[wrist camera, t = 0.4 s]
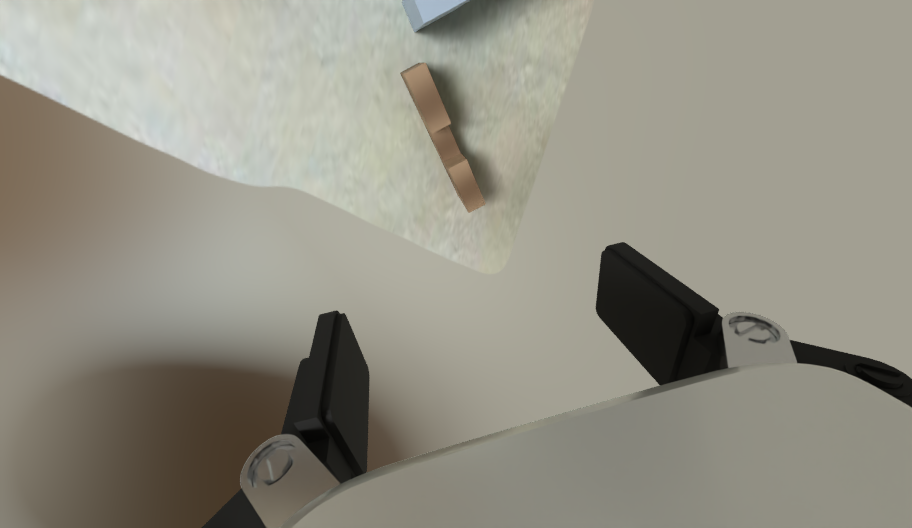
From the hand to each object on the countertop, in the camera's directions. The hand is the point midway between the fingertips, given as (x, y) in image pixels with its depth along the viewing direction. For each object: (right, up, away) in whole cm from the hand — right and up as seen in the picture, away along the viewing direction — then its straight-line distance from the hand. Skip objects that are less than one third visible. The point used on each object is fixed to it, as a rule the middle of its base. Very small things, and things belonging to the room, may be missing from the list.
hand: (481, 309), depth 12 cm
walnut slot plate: (-3, +15, +24) cm, 29 cm away
